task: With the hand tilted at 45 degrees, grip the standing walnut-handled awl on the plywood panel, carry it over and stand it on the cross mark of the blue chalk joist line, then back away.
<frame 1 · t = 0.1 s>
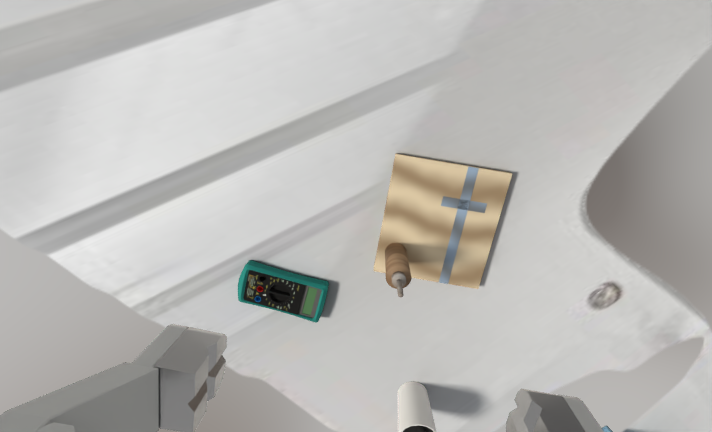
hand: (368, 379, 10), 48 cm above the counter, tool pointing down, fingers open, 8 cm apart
digital multimeter: (285, 286, 64), on the counter
white cup: (412, 392, 69), on the counter
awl: (395, 252, 59), point 1 cm above the counter, touching plywood panel
plywood panel: (438, 222, 58), on the counter
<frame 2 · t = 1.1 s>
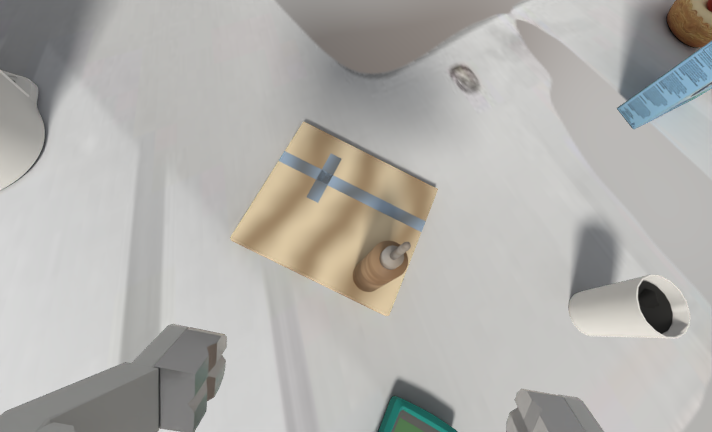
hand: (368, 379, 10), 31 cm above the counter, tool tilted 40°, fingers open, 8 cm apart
white cup: (586, 313, 47), on the counter
gum box: (655, 104, 64), on the counter
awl: (367, 276, 41), point 1 cm above the counter, touching plywood panel
pastry: (683, 31, 74), on the counter
plywood panel: (341, 214, 44), on the counter
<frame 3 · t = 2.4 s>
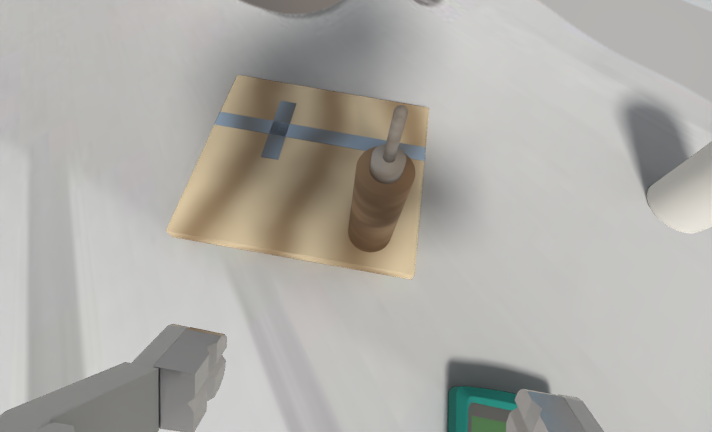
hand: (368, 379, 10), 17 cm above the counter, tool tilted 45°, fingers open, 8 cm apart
white cup: (675, 207, 34), on the counter
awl: (369, 232, 29), point 1 cm above the counter, touching plywood panel
plywood panel: (314, 169, 33), on the counter
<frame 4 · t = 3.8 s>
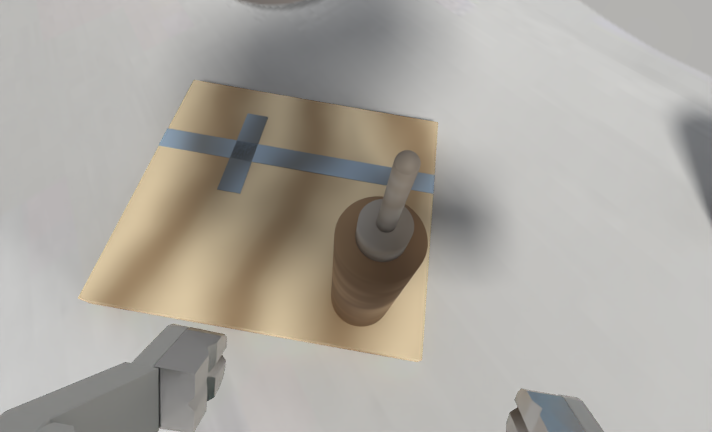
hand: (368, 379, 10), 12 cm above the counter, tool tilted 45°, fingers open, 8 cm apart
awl: (360, 296, 21), point 1 cm above the counter, touching plywood panel
plywood panel: (289, 204, 25), on the counter
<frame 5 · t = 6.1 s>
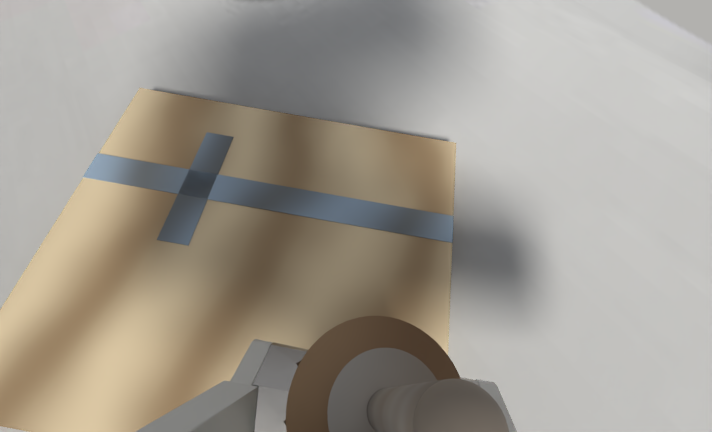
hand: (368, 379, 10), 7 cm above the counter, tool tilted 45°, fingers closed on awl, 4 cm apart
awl: (351, 402, 15), point 1 cm above the counter, touching gripper, plywood panel
plywood panel: (258, 256, 19), on the counter
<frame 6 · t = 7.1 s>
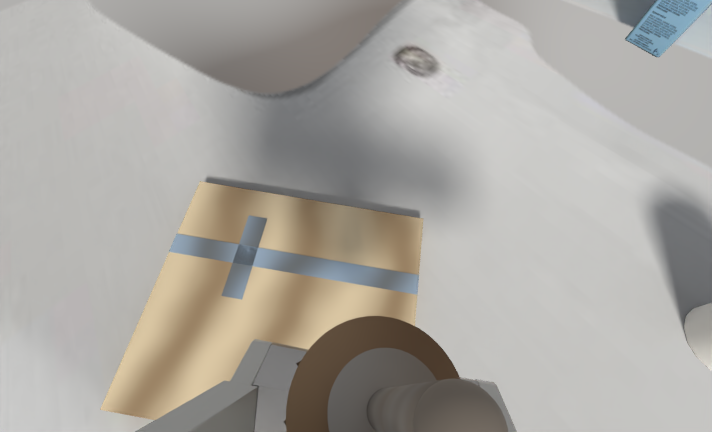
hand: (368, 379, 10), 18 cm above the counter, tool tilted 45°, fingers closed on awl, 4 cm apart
gum box: (669, 21, 49), on the counter
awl: (351, 402, 15), point 11 cm above the counter, touching gripper
plywood panel: (286, 304, 28), on the counter
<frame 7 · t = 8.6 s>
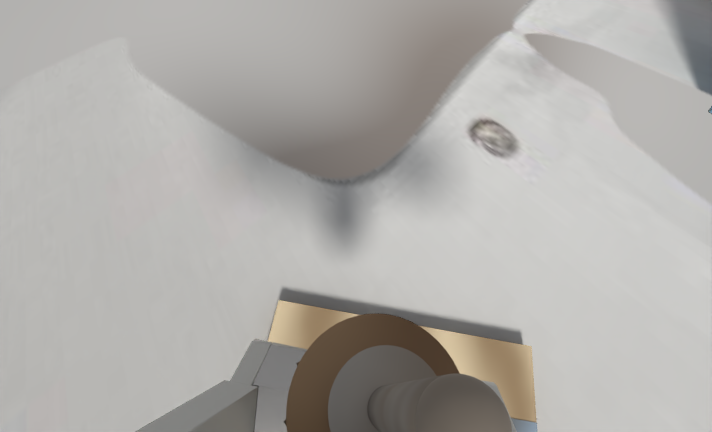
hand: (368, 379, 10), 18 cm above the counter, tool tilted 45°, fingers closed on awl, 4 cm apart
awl: (351, 401, 15), point 12 cm above the counter, touching gripper
when the fingers open (8 cm above the counter, at t = 10.6 s): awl stays where it is, resting on plywood panel.
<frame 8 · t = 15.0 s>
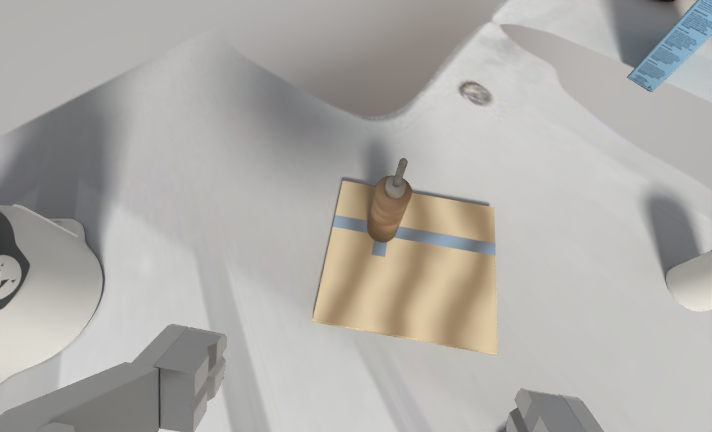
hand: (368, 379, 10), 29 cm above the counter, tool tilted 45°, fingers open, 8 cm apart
white cup: (687, 288, 44), on the counter
gum box: (660, 62, 64), on the counter
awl: (381, 228, 43), point 1 cm above the counter, touching plywood panel
plywood panel: (410, 261, 43), on the counter
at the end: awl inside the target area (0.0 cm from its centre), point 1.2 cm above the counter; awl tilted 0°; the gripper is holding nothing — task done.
